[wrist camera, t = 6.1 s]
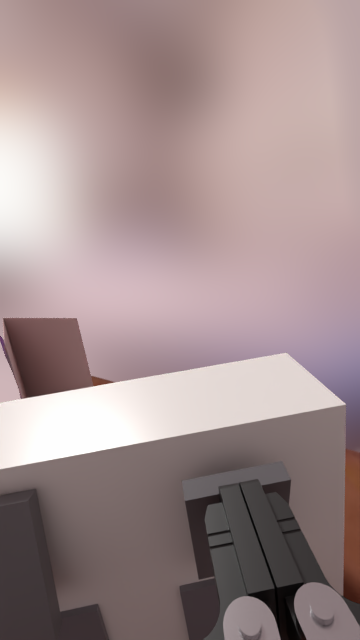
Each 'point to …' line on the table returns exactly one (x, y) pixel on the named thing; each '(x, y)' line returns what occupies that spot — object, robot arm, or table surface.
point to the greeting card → (45, 355)
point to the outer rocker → (207, 493)
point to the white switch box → (167, 484)
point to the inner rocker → (26, 572)
